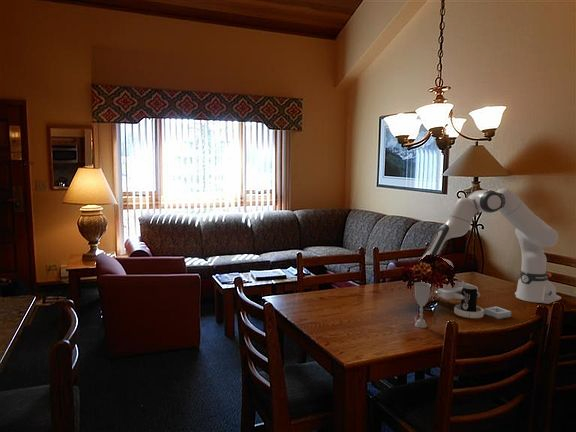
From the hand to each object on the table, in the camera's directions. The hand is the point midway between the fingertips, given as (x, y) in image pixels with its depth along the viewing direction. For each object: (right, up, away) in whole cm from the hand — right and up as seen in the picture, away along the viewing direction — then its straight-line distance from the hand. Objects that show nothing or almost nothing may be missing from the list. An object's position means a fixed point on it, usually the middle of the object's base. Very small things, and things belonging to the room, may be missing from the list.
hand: (471, 296), depth 203 cm
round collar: (0, -8, +2) cm, 9 cm away
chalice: (-27, -10, -14) cm, 32 cm away
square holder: (+12, -9, 0) cm, 14 cm away
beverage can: (-1, -8, +2) cm, 8 cm away
